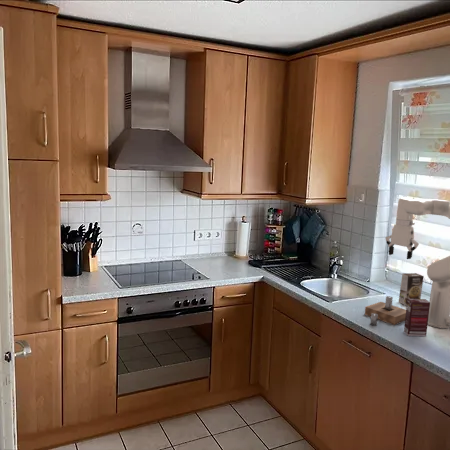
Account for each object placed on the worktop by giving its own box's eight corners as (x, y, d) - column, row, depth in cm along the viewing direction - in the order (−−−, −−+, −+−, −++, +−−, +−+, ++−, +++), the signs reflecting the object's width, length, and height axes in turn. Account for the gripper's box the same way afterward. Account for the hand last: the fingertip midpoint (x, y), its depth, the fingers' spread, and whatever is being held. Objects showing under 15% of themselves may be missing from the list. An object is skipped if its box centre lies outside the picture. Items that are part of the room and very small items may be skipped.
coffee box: (405, 306, 247) (409, 276, 244) (398, 301, 253) (401, 273, 250) (420, 305, 249) (424, 276, 246) (412, 301, 255) (416, 272, 253)
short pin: (378, 325, 218) (379, 314, 217) (374, 326, 216) (375, 316, 215) (372, 322, 220) (373, 312, 219) (368, 324, 218) (369, 314, 218)
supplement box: (421, 332, 212) (426, 298, 209) (426, 336, 207) (431, 302, 204) (402, 331, 212) (407, 298, 209) (407, 336, 207) (411, 301, 204)
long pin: (391, 317, 229) (393, 297, 227) (388, 318, 227) (390, 298, 226) (385, 315, 231) (388, 295, 230) (382, 316, 230) (384, 296, 228)
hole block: (409, 318, 228) (410, 311, 227) (394, 325, 219) (395, 317, 218) (380, 309, 240) (380, 301, 239) (364, 314, 231) (365, 306, 230)
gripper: (424, 225, 227) (420, 259, 230) (391, 219, 240) (388, 252, 243) (416, 226, 222) (412, 261, 225) (383, 220, 235) (380, 253, 238)
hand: (399, 256), depth 234 cm, fingers open, 9 cm apart
